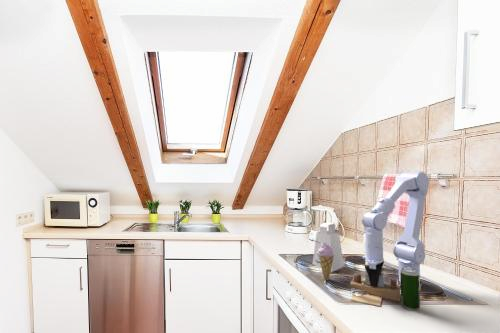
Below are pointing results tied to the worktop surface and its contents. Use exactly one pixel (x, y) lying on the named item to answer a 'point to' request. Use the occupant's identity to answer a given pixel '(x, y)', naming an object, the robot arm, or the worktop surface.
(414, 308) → the beer can
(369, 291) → the body
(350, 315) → the worktop surface
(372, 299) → the cork trivet
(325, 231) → the grater
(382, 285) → the grey block with knob
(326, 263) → the ice cream cone
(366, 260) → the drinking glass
